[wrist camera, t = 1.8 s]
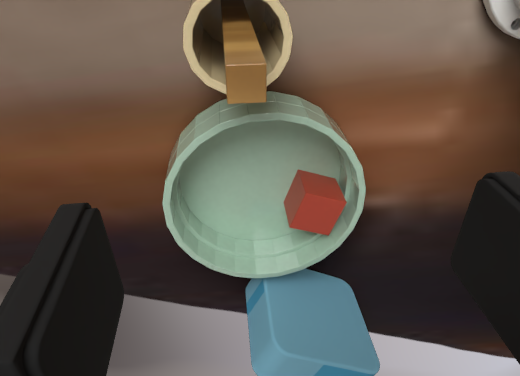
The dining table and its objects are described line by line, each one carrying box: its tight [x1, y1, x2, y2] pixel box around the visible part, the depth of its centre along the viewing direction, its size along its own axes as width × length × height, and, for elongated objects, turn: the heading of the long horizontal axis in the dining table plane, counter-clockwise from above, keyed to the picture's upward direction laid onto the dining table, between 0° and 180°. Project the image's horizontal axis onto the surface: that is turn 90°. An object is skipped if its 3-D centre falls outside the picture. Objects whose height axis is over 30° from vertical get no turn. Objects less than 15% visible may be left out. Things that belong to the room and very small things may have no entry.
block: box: [283, 169, 347, 235], centre depth 37 cm, size 4×4×4 cm
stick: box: [221, 0, 267, 104], centre depth 22 cm, size 2×2×16 cm
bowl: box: [162, 91, 366, 279], centre depth 36 cm, size 17×17×5 cm
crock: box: [183, 0, 293, 94], centre depth 25 cm, size 6×6×10 cm
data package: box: [246, 268, 380, 376], centre depth 41 cm, size 12×4×12 cm, turn 64°
